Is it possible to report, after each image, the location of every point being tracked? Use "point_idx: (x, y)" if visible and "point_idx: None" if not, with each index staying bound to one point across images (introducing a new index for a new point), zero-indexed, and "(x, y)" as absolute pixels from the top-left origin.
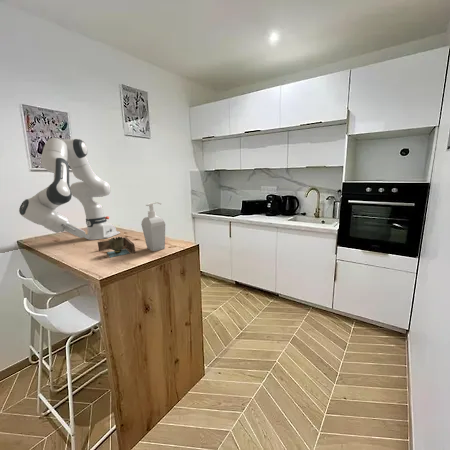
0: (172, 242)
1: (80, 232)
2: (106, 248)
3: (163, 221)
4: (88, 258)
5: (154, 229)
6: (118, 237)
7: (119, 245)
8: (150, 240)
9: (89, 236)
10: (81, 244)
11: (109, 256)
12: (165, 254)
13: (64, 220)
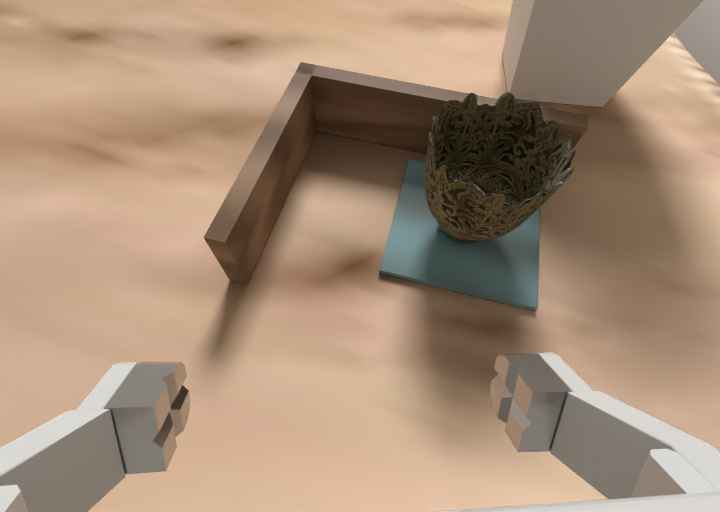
0: (498, 4)
1: None
2: (268, 229)
3: None
4: (396, 441)
5: None
6: (448, 110)
7: (539, 184)
8: (624, 42)
9: (546, 355)
10: None
11: (506, 302)
12: (711, 106)
13: None
